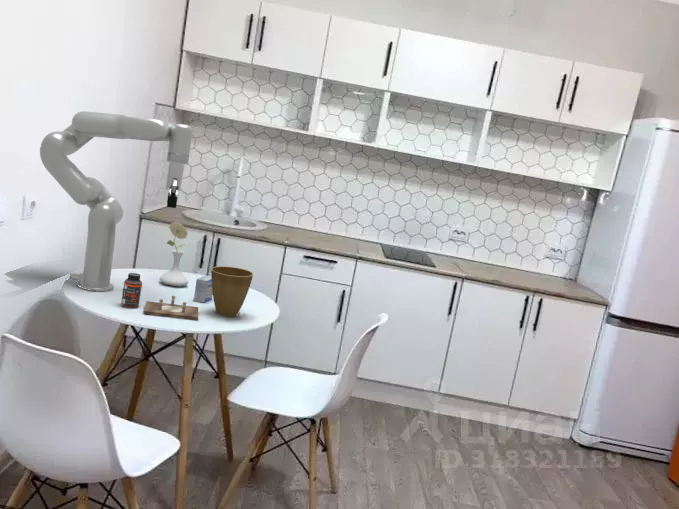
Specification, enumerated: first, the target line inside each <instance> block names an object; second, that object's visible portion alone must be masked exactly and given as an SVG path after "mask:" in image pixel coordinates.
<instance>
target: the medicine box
mask: <svg viewBox="0 0 679 509" xmlns="http://www.w3.org/2000/svg"><path fill="white" fill-rule="evenodd" d="M194 288H195V290H194V295H193V296H194V297H193V301H194V302H198V303H202V304H205V303H208V302H209V301H212V300H213V292H212V279H211V276H207V275H204V276H201V277H199V278H196V281H195V286H194Z"/></svg>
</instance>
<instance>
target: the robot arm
mask: <svg viewBox="0 0 679 509" xmlns="http://www.w3.org/2000/svg"><path fill="white" fill-rule="evenodd" d="M192 137H193V127H192V126H191V125H189V124H188V125H187V124H183V123H178V122H177V123H173V122H170V121H166V120H163V119H157V118H156V119H155V118H153V119H152V118H145V117H144V118H143V117H133V116H126V115H124V114H117V113H106V112H97V111H94V112H93V111H87V110H85V111H83V110H82V111H79V112H77V113H75V114H74V115H73V117H72V119H71V124H70V125H69V126H67V127H66V128H65V129H64V130H62V131H52V132H50V133H47V134H46V135H45V137H43V139H42V141H41V144H40V146H41V147H39V156H40V161H41V162H42V165H43V166H44V168H45V169H46V172H48V173H49V174H50V175H51V176H52V177H53V178H54V180H56V182H57V183H58V184H59V186H60V187H61V188H62V189H63V190H64V191H65V193H67V194H68V196H69V197H70V198H71V199H72V200H73V201H74V202H75V203H76V204H78V205H80V206H81V205H82V206H87V207H88V208H89V209H90V210H89V213H88V217H87V237H86V245H85V246H86V248H85V255H84V262H83V264H84V265H83V271H82V273H80V272H79V274H78V273H73V272H70V274H69V279H72V280H75V281H76V280H77V284H78V285H79V286H81V287H83V288H86V289H90V290H89V291H91V290H96V291H95V292H108V291H109V290H110V291H112V290H113V289H114V284H113V283H111V275H112V266H113V259H114V250H115V244H116V243H115V242H116V227H117V224H118V223H119V222H120V221H121V220H122V218H123V216H124V209H123V207H122V205H121V203H120V202H119V201H118V200H117V199H116V197H114V195H113V194H112V193H111V192H110V190H108V188H106V187H105V185H104V184H103V183H101V182H100V181H99V180H98V179H96V178H94V177H89V176H88V177H87V176H86V175H85V174H84V173H83V172H82V171H81V170H80V169H79V167H77V165H76V164H75V163H74V162H73V161H71V160H70V159H69V158H68V156H70V155H73V154H75V153H76V152H77V151H79V150H80V149H81V148H82V147H84V146H85V145H86V144H89V142H90V141H91V140H93V139H94V138H104V139H105V138H107V139H115V140H116V139H117V140H139V141H148V142H168V147H167V149H168V150H167V155H166V156H167V157H166V162H168V163H169V164H168V168H167V176H166V182H165V183H166V184H165V189H166V190H168V189H169V191H168V194H167V200H166V207H167V208H171V209H176V208H177V204H178V198H179V197H178V192H179V191H180V190H181V186H182V182H183V176H184V170H185V165H189V158H190V154H191V153H190V152H191V144H192ZM77 284H76V285H77ZM86 289H85V290H86ZM110 291H109V292H110Z"/></svg>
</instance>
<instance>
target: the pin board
mask: <svg viewBox="0 0 679 509" xmlns="http://www.w3.org/2000/svg"><path fill="white" fill-rule="evenodd" d="M175 299H176V295H172V296H171V302H170V303H165V302H164V300H163V299H161V298H160V299H159V301H156V302H155V301H150V300H148V301H147V300H146V301H145V305H144V308H143V312H142V315H146V316H155V317H163V318H173V319H180V320H188V321H189V320H191V321H199V306H191V305H187V302H185V301H183V302H182V305H181V304H175Z"/></svg>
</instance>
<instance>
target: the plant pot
mask: <svg viewBox="0 0 679 509" xmlns="http://www.w3.org/2000/svg"><path fill="white" fill-rule="evenodd" d="M210 271H211V272H210V274H211V276H210V277H211V279H212V292H213V296H212V300H213V303H214V307H215V312H216V314H217V315H219V316H222V317H226V318H227V317H228V318H234V317H237V315H239V312H240V311H241V308H242V307H243V304H244V302H245V299H246V297H247V295H248V292H249V290H250V287H251V284H252V280H253V277H254V273H253V271H250V270H248V269H244V268H240V267H234V266H222V265H221V266H220V265H219V266H214V267H211V270H210Z"/></svg>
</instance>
